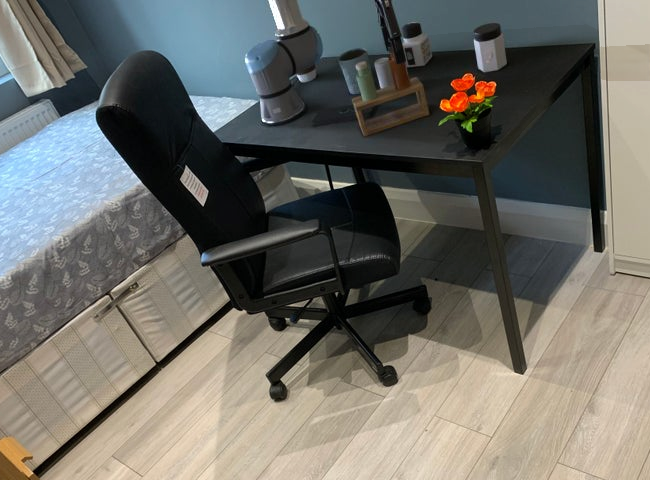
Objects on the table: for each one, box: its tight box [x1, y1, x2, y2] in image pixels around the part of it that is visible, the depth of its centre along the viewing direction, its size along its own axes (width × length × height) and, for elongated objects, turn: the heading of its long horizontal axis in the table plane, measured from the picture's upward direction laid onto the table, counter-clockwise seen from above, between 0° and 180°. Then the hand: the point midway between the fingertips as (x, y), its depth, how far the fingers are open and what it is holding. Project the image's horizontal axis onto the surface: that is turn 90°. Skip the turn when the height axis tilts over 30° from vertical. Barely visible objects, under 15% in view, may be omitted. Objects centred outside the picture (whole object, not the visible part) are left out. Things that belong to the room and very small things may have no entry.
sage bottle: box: [356, 62, 377, 101], centre depth 178 cm, size 4×4×10 cm
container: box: [400, 21, 433, 68], centre depth 215 cm, size 8×8×13 cm
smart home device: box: [311, 104, 378, 126], centre depth 199 cm, size 8×2×20 cm
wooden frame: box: [351, 76, 430, 138], centre depth 184 cm, size 8×20×9 cm, turn 100°
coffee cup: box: [295, 63, 317, 83], centre depth 234 cm, size 11×11×12 cm
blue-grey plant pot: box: [337, 47, 373, 95], centre depth 210 cm, size 10×10×12 cm
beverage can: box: [374, 57, 394, 89], centre depth 198 cm, size 5×5×12 cm
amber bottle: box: [388, 44, 411, 90], centre depth 177 cm, size 5×5×12 cm
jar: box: [473, 22, 508, 73], centre depth 194 cm, size 9×8×12 cm
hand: (396, 56), depth 176 cm, fingers open, 13 cm apart
